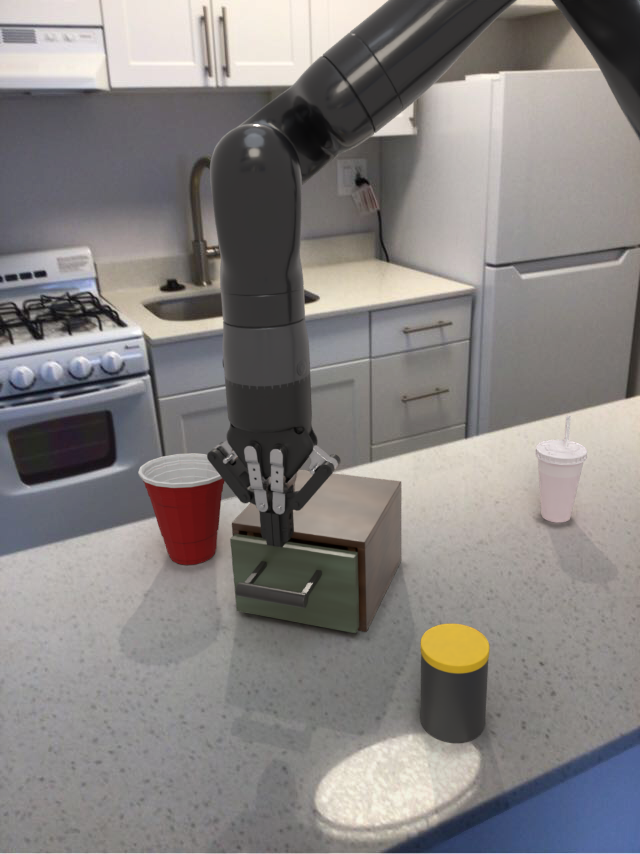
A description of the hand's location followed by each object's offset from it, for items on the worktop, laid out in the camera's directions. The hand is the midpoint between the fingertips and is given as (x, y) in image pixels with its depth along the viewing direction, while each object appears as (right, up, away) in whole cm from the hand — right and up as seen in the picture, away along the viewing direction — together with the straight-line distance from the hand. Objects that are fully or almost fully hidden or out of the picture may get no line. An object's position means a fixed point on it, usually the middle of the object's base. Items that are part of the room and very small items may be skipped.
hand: (277, 542), depth 72 cm
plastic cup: (-12, -5, +22) cm, 26 cm away
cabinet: (+4, -7, +14) cm, 17 cm away
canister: (+16, -15, -6) cm, 22 cm away
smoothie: (+35, -1, +28) cm, 45 cm away
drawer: (+3, -8, +10) cm, 13 cm away
